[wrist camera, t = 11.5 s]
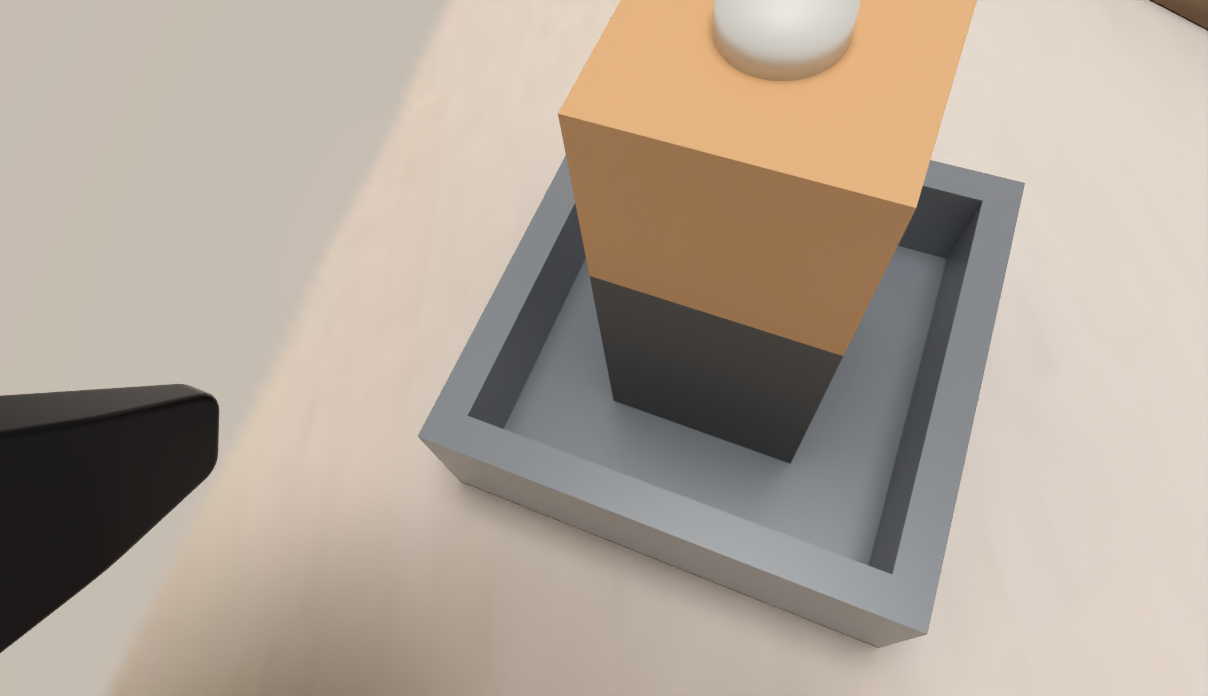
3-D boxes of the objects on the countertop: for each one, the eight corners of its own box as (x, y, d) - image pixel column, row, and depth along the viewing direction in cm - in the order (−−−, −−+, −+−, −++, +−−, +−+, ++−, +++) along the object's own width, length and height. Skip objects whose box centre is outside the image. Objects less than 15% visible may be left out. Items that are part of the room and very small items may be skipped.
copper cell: (790, 463, 17) (929, 180, 8) (613, 400, 18) (552, 84, 9) (841, 305, 19) (1006, -84, 10) (675, 255, 20) (679, -138, 11)
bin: (878, 647, 16) (927, 634, 13) (459, 481, 19) (418, 436, 16) (970, 263, 20) (1025, 183, 17) (614, 166, 23) (604, 81, 20)
